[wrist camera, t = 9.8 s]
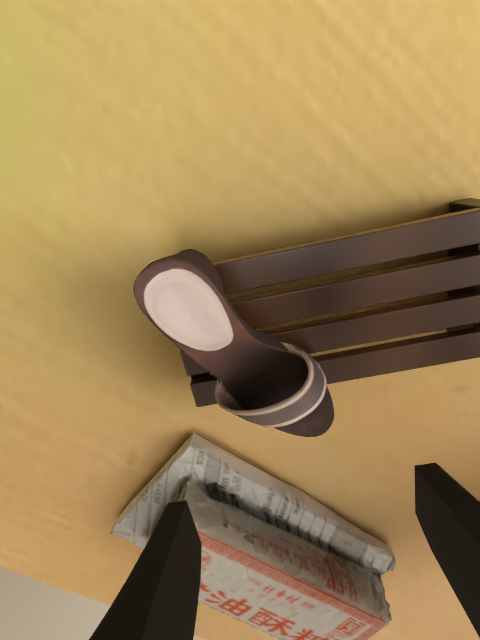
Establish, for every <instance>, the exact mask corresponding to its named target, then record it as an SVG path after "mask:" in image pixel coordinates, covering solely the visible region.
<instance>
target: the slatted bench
mask: <svg viewBox="0 0 480 640" xmlns="http://www.w3.org/2000/svg"><path fill="white" fill-rule="evenodd" d="M444 250H449V252H448V257H445V258H439V259H434V260H429V261H424V262H419V263H414V264H409V265H404V266H399V267H394V268H389V269H384V270H379V271H374V272H369V273H364V274H359V275H354V276H348V277H343V278H338V279H333V280H328V281H323V282H318V283H313V284H308V285H303V286H298V287H293V288H288V289H283V290H278V291H273V292H268V293H263V294H257V295H252V296H247V297H242V298H237V299H232V300H228V301H229V302H230V304H231V305H232V306H233V308H234V309H235V311H236V312H237V313H238V314H239V316H240V317H241V318H242V319H243V320H244V321H245V322H246V323H247V324H248V325H249V326H251V327H252V328H256V327H261V326H266V325H272V324H277V323H282V322H287V321H292V320H298V319H303V318H308V317H313V316H319V315H324V314H329V313H334V312H340V311H345V310H350V309H355V308H361V307H366V306H371V305H376V304H381V303H387V302H392V301H397V300H402V299H408V298H413V297H418V296H423V295H429V294H434V293H439V292H444V291H448V296H445V297H440V298H434V299H429V300H424V301H419V302H413V303H408V304H403V305H397V306H392V307H387V308H382V309H376V310H371V311H366V312H361V313H355V314H350V315H345V316H340V317H334V318H329V319H324V320H318V321H313V322H308V323H303V324H297V325H292V326H287V327H282V328H276V329H271V330H266V331H261V332H263V333H265V334H268V335H271V336H273V337H276V338H278V339H280V340H282V341H284V342H286V343H289V344H293V345H295V346H297V347H299V348H301V349H302V350H304V351H305V352H306V353H308V354H310V353H315V352H321V351H326V350H332V349H337V348H343V347H348V346H354V345H359V344H364V343H370V342H375V341H381V340H386V339H392V338H397V337H403V336H408V335H413V334H419V333H424V332H430V331H435V330H441V329H446V328H447V332H444V333H439V334H433V335H428V336H422V337H417V338H411V339H406V340H400V341H395V342H389V343H384V344H378V345H373V346H367V347H362V348H357V349H351V350H346V351H340V352H335V353H329V354H324V355H318V356H313V358H314V359H315V360H316V361H317V363H318V364H319V365H320V367H321V369H322V371H323V373H324V375H325V377H326V383H327V384H331V383H336V382H342V381H348V380H353V379H359V378H365V377H370V376H376V375H382V374H387V373H393V372H399V371H404V370H410V369H416V368H421V367H427V366H433V365H438V364H444V363H450V362H455V361H461V360H467V359H472V358H478V357H480V199H473V198H468V199H463V200H459V201H454V202H450V203H449V214H445V215H440V216H435V217H431V218H426V219H421V220H416V221H411V222H406V223H402V224H397V225H392V226H387V227H382V228H377V229H372V230H368V231H363V232H358V233H353V234H348V235H343V236H339V237H334V238H329V239H324V240H319V241H314V242H309V243H305V244H300V245H295V246H290V247H285V248H280V249H276V250H271V251H266V252H261V253H256V254H251V255H246V256H242V257H237V258H232V259H227V260H222V261H217V262H213V263H212V264H213V265H214V267H215V268H216V270H217V271H218V273H219V274H220V276H221V278H222V285H223V291H224V294H228V293H233V292H238V291H243V290H248V289H253V288H258V287H263V286H268V285H273V284H278V283H283V282H288V281H293V280H298V279H303V278H308V277H313V276H318V275H323V274H328V273H333V272H338V271H343V270H348V269H353V268H358V267H364V266H369V265H374V264H379V263H384V262H389V261H394V260H399V259H404V258H409V257H414V256H419V255H424V254H429V253H434V252H439V251H444ZM180 354H181V357H182V360H183V364H184V367H185V370H186V373H187V376H190V375H191V383H190V386H191V390H192V393H193V396H194V400H195V403H196V406H197V407H200V406H206V405H212V404H217V401H216V398H215V387H216V385H217V378H216V377H215V376H214V375H212V374H211V373H210V372H208V371H207V370H206V369H205V368H203V367H202V366H201V365H199V364H198V363H197V362H195V361H194V360H193V359H192V358H190V357H189V356H188V355H187V354H186V353H184V352H183V351H182V350H180Z"/></svg>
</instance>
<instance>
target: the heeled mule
mask: <svg viewBox="0 0 480 640" xmlns="http://www.w3.org/2000/svg"><path fill="white" fill-rule="evenodd" d="M134 295H135V298H136V301H137V303H138V305H139V307H140V309H141V310H142V312H143V313H144V314H145V315H146V316H147V318H148V319H149V320H150V321H151V322H152V323H153V324H154V325H155V326H156V327H157V328H158V329H159V330H160V331H161V332H162V333H163V334H164V335H165V336H166V337H168V338H169V339H170V340H171V341H172V342H173V343H174V344H175V345H176V346H177V347H178V348H180V349H181V350H182V351H183V352H184V353H186V354H187V355H188V356H189V357H190V358H192V359H193V360H194V361H195V362H197V363H198V364H199V365H201V366H202V367H203V368H205V369H206V370H207V371H208V372H210V373H211V374H212V375H214V376H215V377H216V378H217V385H216V387H215V398H216V401H217V403H218V404H219V406H220V407H222V408H223V409H225V410H227V411H228V412H231V413H233V414H235V415H237V416H239V417H241V418H243V419H245V420H247V421H250V422H252V423H256V424H258V425H261V426H264V427H274V428H276V429H278V430H281V431H284V432H286V433H290V434H293V435H298V436H304V437H315V436H319V435H322V434H323V433H325V432H326V431H327V430H328V429H329V428H330V426H331V424H332V422H333V420H334V408H333V402H332V398H331V395H330V392H329V390H328V388H327V386H326V384H327V383H326V377H325V375H324V373H323V371H322V369H321V367H320V365H319V364H318V363H317V361H316V360H315V359H314V358H313V357H311V356H310V355H309V354H308V353H306V352H305V351H304V350H302V349H301V348H299V347H297V346H295V345H293V344H289V343H286V342H284V341H282V340H280V339H278V338H276V337H273V336H271V335H268V334H265V333H263V332H261V331H258V330H256V329H254V328H252V327H251V326H249V325H248V324H247V323H246V322H245V321H244V320H243V319H242V318H241V317H240V316H239V314H238V313H237V312H236V311H235V309H234V308H233V306H232V305H231V304H230V302H229V301H228V299H227V298H226V296H225V294H224V291H223V285H222V278H221V276H220V274H219V273H218V271H217V270H216V268H215V267H214V265H213V264H212V262H211V261H210V260H209V259H208V258H207V257H206V256H205V255H204V254H202V253H201V252H199V251H197V250H193V249H188V250H183V251H181V252H179V253H178V254H175V255H172V256H168V257H165V258H162V259H159V260H156V261H154V262H152V263H150V264H149V265H148V266H147V267H145V268H144V269H143V270H142V272H141V273H140V274H139V275H138V277H137V278H136V280H135V283H134Z"/></svg>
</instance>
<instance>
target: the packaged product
mask: <svg viewBox="0 0 480 640" xmlns="http://www.w3.org/2000/svg"><path fill="white" fill-rule="evenodd" d="M184 500H187V503H188V506H189V509H190V512H191V514H192V517H193V520H194V523H195V526H196V528H197V531H198V534H199V537H200V540H201V543H202V552H201V581H200V590H199V598H198V601H199V602H201V603H203V604H205V605H207V606H210V607H212V608H214V609H216V610H219V611H221V612H223V613H225V614H227V615H229V616H232V617H233V618H235V619H237V620H240V621H243V622H245V623H247V624H249V625H251V626H252V627H254V628H257V629H259V630H261V631H263V632H266V633H268V634H269V635H271V636H274V637H277V638H279V639H281V640H368V639H369V638H371V637H372V636H373V635H374V634H375V633H376V632H378V631H380V630H381V629H383V628H384V627H386V626H387V625H388V623H389V621H391V620H392V619H391V614H390V611H389V608H390V605H389V603H388V602H387V601H386V599H385V591H384V586H383V582H382V580H381V575H382V574H384V573H385V572H387V571H389V570H392V571H393V569H394V566H395V563H396V560H395V557H394V555H393V552H392V550H391V547H390V546H389V545H387V544H385V543H383V542H382V541H380V540H378V539H376V538H374V537H373V536H371V535H369V534H367V533H365V532H364V531H362V530H360V529H359V528H357V527H356V526H354V525H353V524H351V523H350V522H348V521H346V520H345V519H343V518H342V517H340V516H339V515H337V514H336V513H334V512H333V511H331V510H330V509H328V508H327V507H325V506H324V505H322V504H321V503H319V502H318V501H316V500H315V499H313V498H312V497H310V496H309V495H307V494H306V493H304V492H303V491H301V490H299V489H297V488H295V487H293V486H291V485H289V484H287V483H285V482H282V481H280V480H278V479H276V478H274V477H272V476H270V475H269V474H267V473H265V472H263V471H261V470H260V469H258V468H256V467H254V466H252V465H251V464H249V463H247V462H245V461H243V460H242V459H240V458H238V457H236V456H234V455H233V454H231V453H229V452H227V451H225V450H224V449H222V448H220V447H218V446H216V445H215V444H213V443H211V442H209V441H207V440H206V439H204V438H202V437H200V436H198V435H197V434H195V433H193V434H192V435H191V436H190V437H189V438H188V439H187V440H186V442H185V443H184V444H183V445H182V446H181V447H180V448H179V449H178V451H177V452H176V453H175V454H174V455H173V456H172V457H171V458H170V460H169V461H168V462H167V463H166V464H165V465H164V466H163V467H162V468H161V470H160V471H159V472H158V473H157V474H156V475H155V476H154V477H153V478H152V479H151V480H150V481H149V483H148V484H147V485H146V486H145V487H144V488H143V489H142V490H141V491H140V492H139V493H138V495H137V496H136V497H135V498H134V499H133V500H132V501H131V502H130V503H129V504H128V505H127V507H126V508H125V509H124V511H123V512H122V513H121V515H120V516H119V517H118V519H117V521H116V523H115V525H114V527H113V529H112V531H111V533H110V534H112V535H115V536H118V537H121V538H124V539H127V540H129V541H131V542H132V543H133V544H134V545H135V546H137V547H140V548H143V549H144V548H145V546H146V544H147V542H148V540H149V538H150V536H151V534H152V532H153V531H154V529H155V527H156V525H157V523H158V521H159V519H160V517H161V515H162V513H163V511H164V508H165V506H166V505H167V504H168V503H171V502H177V501H184Z"/></svg>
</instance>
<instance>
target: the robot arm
mask: <svg viewBox="0 0 480 640" xmlns="http://www.w3.org/2000/svg"><path fill="white" fill-rule="evenodd" d="M415 511H416V515H417V518H418V520H419V522H420V525H421V527H422V530H423V532H424V534H425V537H426V539H427V541H428V543H429V546H430V548H431V550H432V552H433V554H434V556H435V558H436V559H437V561H438V563H439V565H440V567H441V568H442V570H443V572H444V574H445V576H446V578H447V579H448V581H449V583H450V585H451V587H452V588H453V590H454V592H455V594H456V596H457V598H458V599H459V601H460V603H461V605H462V607H463V608H464V610H465V612H466V614H467V616H468V617H469V619H470V621H471V623H472V625H473V626H474V628H475V630H476V632H477V634H478V635H479V637H480V502H479V501H478V500H477V499H476V498H475V497H474V496H473V495H471V494H470V493H469V492H468V491H467V490H466V489H465V488H463V487H462V486H461V485H460V484H459V483H458V482H457V481H456V480H454V479H453V478H452V477H451V476H450V475H449V474H448V473H447V472H446V471H445V470H443V469H442V468H441V467H440V466H439V465H438V464H436V463H430V464H424V465H417V466H415ZM201 552H202V543H201V540H200V537H199V534H198V531H197V528H196V526H195V523H194V520H193V517H192V514H191V512H190V509H189V506H188V503H187V500H184V501H177V502H171V503H168V504H167V505H166V506H165V508H164V511H163V513H162V515H161V517H160V519H159V521H158V523H157V525H156V527H155V529H154V531H153V532H152V534H151V536H150V538H149V540H148V542H147V544H146V546H145V548H144V550H143V552H142V553H141V555H140V557H139V559H138V561H137V562H136V564H135V566H134V568H133V570H132V571H131V573H130V575H129V577H128V579H127V580H126V582H125V584H124V585H123V587H122V589H121V590H120V592H119V594H118V595H117V597H116V598H115V600H114V602H113V603H112V605H111V607H110V608H109V610H108V612H107V613H106V615H105V616H104V618H103V619H102V621H101V622H100V624H99V626H98V627H97V629H96V630H95V632H94V633H93V635H92V636H91V637H90V639H89V640H193V636H194V629H195V621H196V613H197V606H198V598H199V590H200V581H201Z"/></svg>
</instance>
